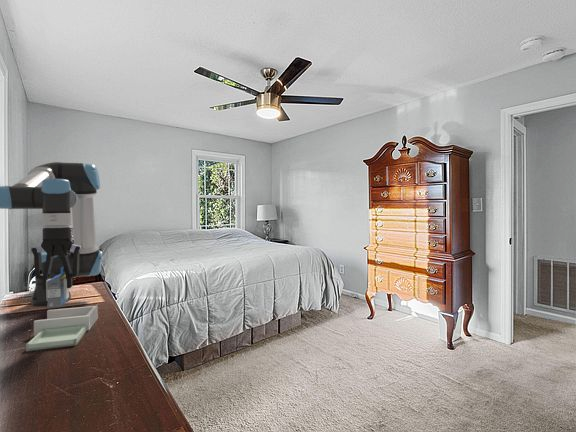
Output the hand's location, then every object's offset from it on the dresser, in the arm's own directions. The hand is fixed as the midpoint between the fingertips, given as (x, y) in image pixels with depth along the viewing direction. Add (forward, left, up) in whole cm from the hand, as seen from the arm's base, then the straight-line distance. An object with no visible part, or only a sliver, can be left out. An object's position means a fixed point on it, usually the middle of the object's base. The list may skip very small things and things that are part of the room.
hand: (58, 298), depth 106 cm
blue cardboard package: (0, 0, -2) cm, 2 cm away
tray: (0, 0, -14) cm, 14 cm away
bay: (-14, -1, -14) cm, 19 cm away
